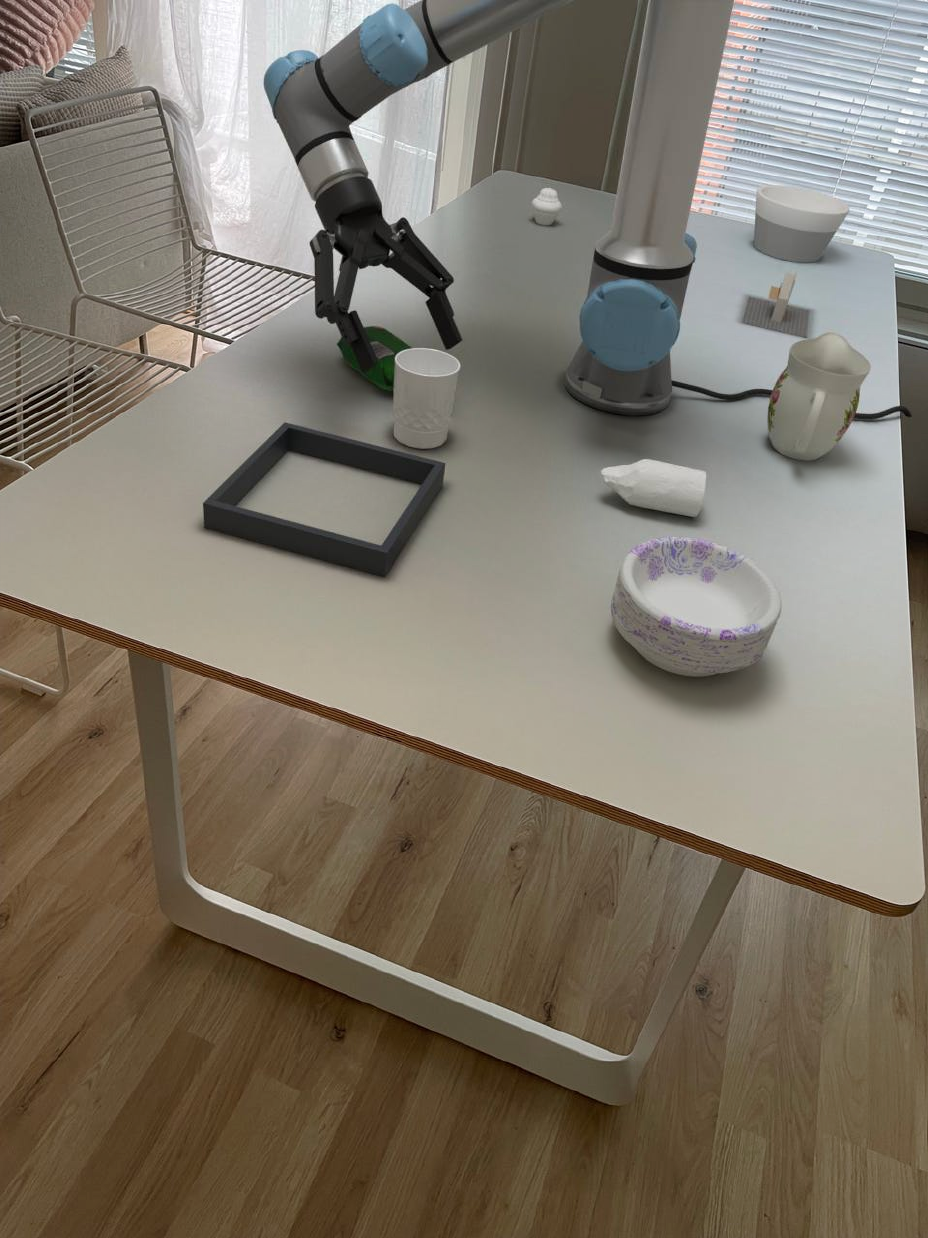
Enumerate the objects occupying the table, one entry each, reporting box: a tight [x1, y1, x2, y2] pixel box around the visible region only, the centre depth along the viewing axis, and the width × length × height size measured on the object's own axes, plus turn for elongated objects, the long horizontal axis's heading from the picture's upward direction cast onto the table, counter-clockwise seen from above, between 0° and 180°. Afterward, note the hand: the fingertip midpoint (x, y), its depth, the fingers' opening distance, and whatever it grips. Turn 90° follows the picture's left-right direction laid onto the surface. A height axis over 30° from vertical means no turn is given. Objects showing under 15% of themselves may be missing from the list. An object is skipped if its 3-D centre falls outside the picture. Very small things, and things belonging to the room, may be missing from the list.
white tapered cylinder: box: [600, 458, 707, 518], centre depth 114 cm, size 6×12×6 cm, turn 81°
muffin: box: [531, 187, 562, 226], centre depth 199 cm, size 6×6×7 cm
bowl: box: [753, 184, 851, 264], centre depth 203 cm, size 19×19×11 cm
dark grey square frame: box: [202, 421, 446, 578], centre depth 106 cm, size 20×20×3 cm
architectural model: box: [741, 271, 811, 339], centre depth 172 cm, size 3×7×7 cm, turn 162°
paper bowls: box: [610, 536, 783, 678], centre depth 92 cm, size 15×15×8 cm
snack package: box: [336, 325, 413, 392], centre depth 132 cm, size 7×16×5 cm, turn 36°
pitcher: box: [767, 332, 872, 461], centre depth 127 cm, size 11×18×14 cm, turn 160°
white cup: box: [392, 347, 461, 450], centre depth 119 cm, size 8×8×10 cm
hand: (414, 356), depth 117 cm, fingers open, 13 cm apart
